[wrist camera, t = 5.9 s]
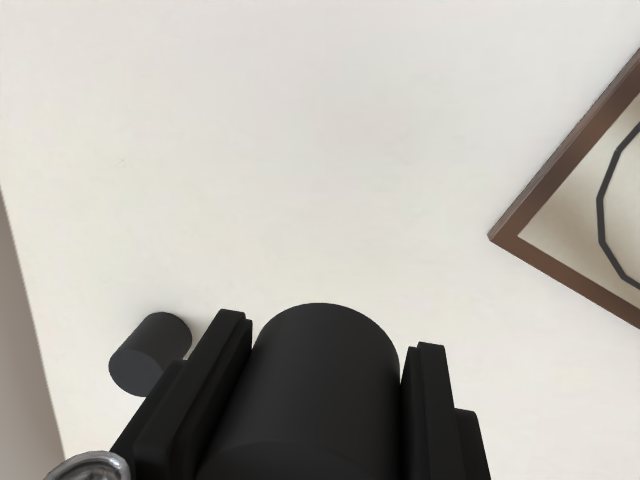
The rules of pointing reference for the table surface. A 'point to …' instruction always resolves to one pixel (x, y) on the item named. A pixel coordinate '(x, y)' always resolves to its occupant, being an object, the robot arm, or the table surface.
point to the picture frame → (588, 205)
